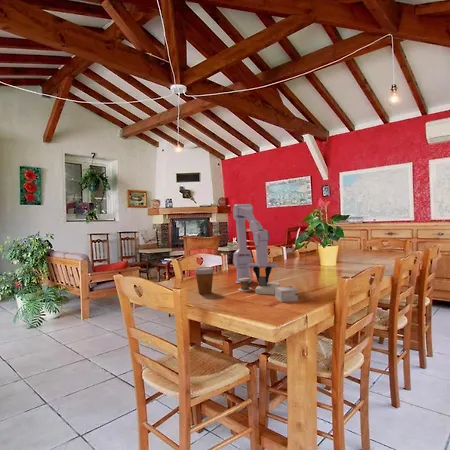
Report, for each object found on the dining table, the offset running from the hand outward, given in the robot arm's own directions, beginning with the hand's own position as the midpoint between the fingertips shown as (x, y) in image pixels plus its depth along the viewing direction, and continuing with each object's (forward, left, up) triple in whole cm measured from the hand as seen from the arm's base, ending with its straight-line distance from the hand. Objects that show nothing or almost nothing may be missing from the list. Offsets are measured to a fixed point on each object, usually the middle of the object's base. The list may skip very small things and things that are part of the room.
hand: (262, 282), depth 164 cm
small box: (+16, +14, -4) cm, 22 cm away
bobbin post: (+1, -9, -4) cm, 10 cm away
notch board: (0, +2, -4) cm, 5 cm away
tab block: (0, 0, -2) cm, 2 cm away
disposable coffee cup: (+10, -27, -4) cm, 29 cm away
